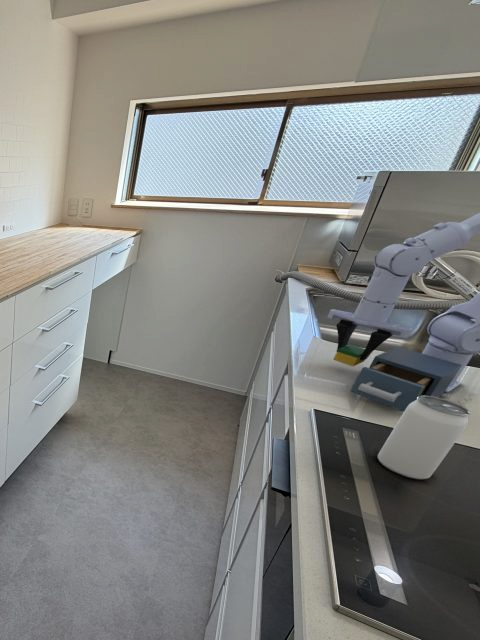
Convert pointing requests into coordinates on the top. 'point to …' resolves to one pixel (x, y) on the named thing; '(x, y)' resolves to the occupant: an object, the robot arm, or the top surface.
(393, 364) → the cabinet
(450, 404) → the can
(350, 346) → the sponge
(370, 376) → the drawer
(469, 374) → the top surface
